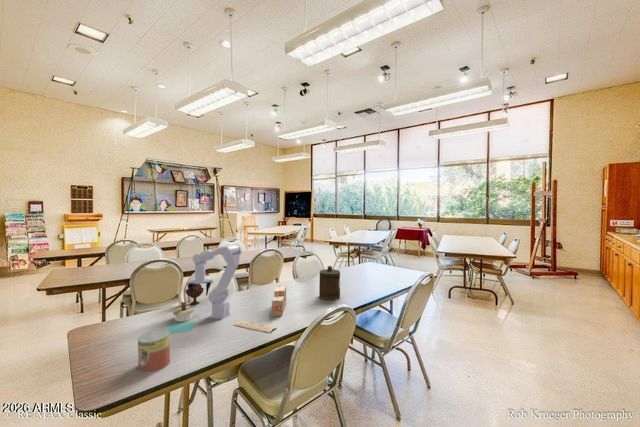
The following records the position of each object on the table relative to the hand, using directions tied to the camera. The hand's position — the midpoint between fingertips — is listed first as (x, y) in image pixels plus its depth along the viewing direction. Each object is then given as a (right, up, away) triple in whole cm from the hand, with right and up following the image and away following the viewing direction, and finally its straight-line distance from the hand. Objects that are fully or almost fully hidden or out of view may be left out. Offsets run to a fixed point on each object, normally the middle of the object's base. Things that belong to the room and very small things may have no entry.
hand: (200, 295), depth 172 cm
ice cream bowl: (-10, -10, +16) cm, 21 cm away
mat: (-1, -11, -22) cm, 25 cm away
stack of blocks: (+47, -11, +5) cm, 49 cm away
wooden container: (+80, -10, +30) cm, 86 cm away
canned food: (+5, -12, -57) cm, 58 cm away
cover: (-5, -6, -10) cm, 13 cm away
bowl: (-5, -11, -10) cm, 15 cm away
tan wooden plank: (+38, -12, -20) cm, 45 cm away
